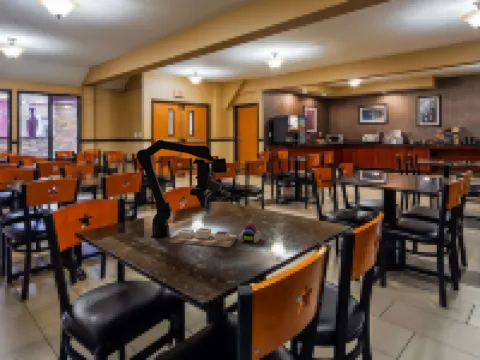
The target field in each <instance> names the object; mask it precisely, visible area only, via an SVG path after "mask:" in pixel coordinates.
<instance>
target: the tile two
mask: <svg viewBox="0 0 480 360" xmlns="http://www.w3.org/2000/svg"><path fill="white" fill-rule="evenodd" d="M195 232H196V238H199V239H207V240H209V239H208V238H209V237H210V236H211V233H212V228H209V227H208V228H207V227H205V228H204V227H200V228H198V229H197V230H196V231H195Z"/></svg>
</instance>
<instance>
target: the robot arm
mask: <svg viewBox="0 0 480 360" xmlns="http://www.w3.org/2000/svg"><path fill="white" fill-rule="evenodd" d="M160 150H166V151H171V152H177V153H184V154H189V155H191V156H194V157H195V159H193V161H192V164H193V165H194V164H196V175H195V179H196V185H195V187H193V188H191V189H190V190H189V196H195V197H196V198H197V201H198V202H199V205H200V206H201V208H202V209H206V206H207V201H208V198H209V196H210V195H211V194H212V193H213V191H216V192H220V191H221V189H222V187H223V186H224V182H223V180H222V179H221V178H217V179H213V177H212V175H210V174H211V172H212V173H213V174H227V173H228V171H227V170H228V168H227V158H225V157H223V158H221V157H220V158H214V156H212V154H211V150H210V148H209V147H208V146H207V145H205V144H199V145H198V144H195V145H194V144H185V143H178V142H172V141H167V140H164V139H158V140H156V142H154V143H153V144H151V145H150V146H148V147H147V148H142V149H139V150H138V151H137V152H136V154H135V157H136V159H137V161H138V163H139V166H141V168H142V169H143V171H144V173H145V176H146V179H147V181H148V182H147V183H148V184H149V187H150V190H151V193H152V195H153V197H154V201H155V209H156V214H154V216H153V217H152V223H151V228H152V234H151V235H150V238H159V239H165V238H166V237H168V236H170V235H171V233H170V225H169V222H168V220H170V218H171V215H172V210H173V206H171V203H170V199H168V200H166V198H165V197H164V194H163V191H162V188H161V186H160V181H159V180H158V177H157V174H156V171H155V168H154V161H153V155H155V154H156V153H158V152H160ZM198 158H199V159H198ZM206 160H207V161H206ZM210 190H212V191H210Z"/></svg>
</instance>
